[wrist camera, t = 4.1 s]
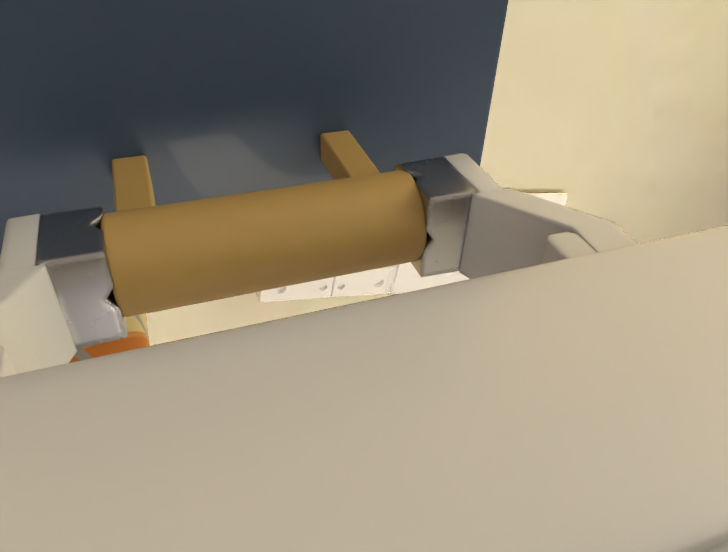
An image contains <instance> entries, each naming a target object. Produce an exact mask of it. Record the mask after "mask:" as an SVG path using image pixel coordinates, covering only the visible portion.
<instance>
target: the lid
mask: <svg viewBox="0 0 728 552" xmlns="http://www.w3.org/2000/svg"><path fill="white" fill-rule="evenodd" d="M507 5H508V0H0V256H1V250H2V244H3V239H4V233H5V227H6V222H7V220H8V219H10V218H14V217H21V216H27V215H33V214H41V215H42V214H43V213H51V212H59V211H67V210H75V209H83V208H91V207H99V206H103V208H104V210H105V214H104V215H103V217H102V219H101V230H102V231H103V234H104V242H105V248H106V254H107V259H108V264H109V269H110V274H111V278H112V282H113V289H112V291H113V294H114V298H115V301H116V304H117V305H118V307H120V310H121V312H122V314H123V316H125V317H130V316H135V315H140V314H145V313H150V312H156V311H161V310H166V309H171V308H176V307H181V306H187V305H192V304H197V303H202V302H207V301H212V300H218V299H223V298H228V297H233V296H238V295H243V294H249V293H254V292H259V291H264V290H269V289H274V288H280V287H285V286H290V285H295V284H300V283H306V282H311V281H316V280H321V279H326V278H331V277H337V276H342V275H347V274H352V273H357V272H362V271H368V270H373V269H378V268H383V267H388V266H393V265H399V264H404V263H409V262H414V261H416V260H418V259H419V258H420V257H421V255H422V253H423V251H424V249H425V245H426V238H427V231H426V220H425V212H424V207H423V203H422V199H421V196H420V193H419V190H418V188H417V186H416V182H415V181H414V179H413V178H412V176H411V175H410V174H409V173H407V172H405V171H402V170H397V171H393V169H394V166H395V165H397V164H401V163H407V162H413V161H419V160H425V159H431V158H436V157H442V156H449V155H454V154H459V153H463V154H467V155H468V156H469V157H470V158H471V159H472V160H473V161H474V162H475V163H476V164H477V165H478V166H479V167H480V162H481V156H482V151H483V145H484V139H485V133H486V127H487V121H488V116H489V110H490V104H491V98H492V92H493V86H494V81H495V75H496V69H497V63H498V57H499V51H500V46H501V40H502V34H503V28H504V22H505V17H506V11H507Z"/></svg>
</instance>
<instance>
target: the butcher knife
mask: <svg viewBox="0 0 728 552" xmlns="http://www.w3.org/2000/svg"><path fill="white" fill-rule="evenodd" d="M527 194H530V195H533V196H536V197H539V198H542V199H545V200H548V201H551V202H554V203H557V204H560V205H563V206H566V203H567V193H527ZM468 279H470V278H468V277H466V276H464V275H463V274H461V273H459V271H456V272H450V273H444V274H438V275H433V276H427V277H421V276H420V275H419V274H418V272H417V271H416V269H415V268H414V266H413V265H412V263H411V262H409V263H404V264H399V265H393V266H388V267H383V268H378V269H373V270H368V271H362V272H357V273H352V274H347V275H342V276H337V277H331V278H326V279H321V280H316V281H311V282H306V283H300V284H295V285H290V286H285V287H280V288H274V289H269V290H264V291H259V292H256V294H257V297H258V300H259V303H261V302H275V301H289V300H302V299H316V298H329V297H330V296H331V297H344V296H359V295H374V294H384V293H385V294H395V293H401V292H402V293H406V292H411V291H416V290H420V289H425V288H430V287H435V286H440V285H444V284H449V283H454V282H459V281H463V280H468ZM386 292H387V293H386ZM389 292H390V293H389Z"/></svg>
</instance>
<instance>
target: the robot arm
mask: <svg viewBox="0 0 728 552" xmlns="http://www.w3.org/2000/svg"><path fill="white" fill-rule="evenodd" d="M397 170H402V171H405V172H407V173H409V174H410V175H411V176H412V178H413V179H414V181H415V182H416V186H417V188H418V190H419V193H420V196H421V199H422V203H423V207H424V212H425V220H426V231H427V238H426V245H425V249H424V251H423V253H422V255H421V257H420V258H419V259H418V260H416V261H414V262H411V263H412V265H413V266H414V268H415V269H416V271H417V272H418V274H419V275H420V276H421V277H427V276H433V275H438V274H444V273H450V272H456V271H459V273H461V274H463V275H464V276H466V277H468V278H470V279H468V280H463V281H459V282H454V283H449V284H444V285H440V286H435V287H430V288H425V289H420V290H416V291H411V292H406V293H401V294H397V295H392V296H387V297H382V298H378V299H373V300H368V301H363V302H358V303H354V304H349V305H344V306H339V307H335V308H330V309H325V310H320V311H315V312H311V313H306V314H301V315H296V316H292V317H287V318H282V319H277V320H272V321H268V322H263V323H258V324H253V325H249V326H244V327H239V328H234V329H229V330H225V331H220V332H215V333H210V334H206V335H201V336H196V337H191V338H186V339H182V340H177V341H172V342H167V343H162V344H158V345H153V346H148V347H143V348H139V349H134V350H129V351H124V352H119V353H115V354H110V355H105V356H100V357H96V358H91V359H86V360H81V361H76V362H72V363H69V362H70V361H71V359H72V358H73V356H74V355H75V353H76V352H77V350H76V349H78V348H82V347H87V346H91V345H95V344H100V343H104V342H108V341H113V340H117V339H122V338H126V337H128V335H127V321H126V317H125V316H123V314H122V312H121V310H120V307H118V305H117V304H116V301H115V298H114V294H113V291H112V289H113V282H112V278H111V274H110V269H109V264H108V259H107V254H106V248H105V242H104V234H103V231H102V230H101V219H102V217H103V215H104V214H105V210H104V208H103V206H99V207H91V208H83V209H75V210H67V211H59V212H51V213H43V214H42V215H41V214H33V215H27V216H21V217H14V218H10V219H8V220H7V222H6V227H5V233H4V239H3V244H2V250H1V256H0V552H728V225H727V226H722V227H717V228H712V229H707V230H703V231H698V232H693V233H688V234H683V235H679V236H674V237H669V238H664V239H659V240H655V241H650V242H645V243H640V244H639V243H638V242H637V241H635V240H634V239H633V238H632V237H631V236H629V235H628V234H627V233H626V232H625V231H624V230H622V229H621V228H620V227H619V226H618V225H616V224H615V223H614V222H613V221H609V220H606V219H603V218H600V217H597V216H594V215H591V214H588V213H585V212H582V211H579V210H576V209H573V208H570V207H566V206H563V205H560V204H557V203H554V202H551V201H548V200H545V199H542V198H539V197H536V196H533V195H530V194H527V193H524V192H520V191H517V190H514V189H511V188H504V189H502V188H501V187H500V186H499V185H498V184H497V183H496V182H495V181H494V180H493V179H492V178H491V177H490V176H489V175H488V174H487V173H486V172H485V171H484V170H483V169H482V168H480V167H479V166H478V165H477V164H476V163H475V162H474V161H473V160H472V159H471V158H470V157H469V156H468V155H467V154H463V153H459V154H454V155H449V156H442V157H436V158H431V159H425V160H419V161H413V162H407V163H401V164H397V165H395V166H394V169H393V171H397Z"/></svg>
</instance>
